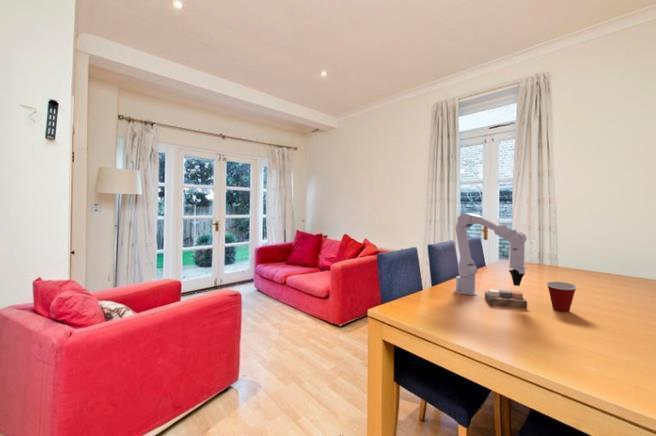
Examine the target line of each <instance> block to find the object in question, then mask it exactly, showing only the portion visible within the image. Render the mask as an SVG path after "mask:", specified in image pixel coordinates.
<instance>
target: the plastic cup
mask: <svg viewBox="0 0 656 436" xmlns="http://www.w3.org/2000/svg"><path fill="white" fill-rule="evenodd" d="M546 286H547V289H548V291H549V297H550V302H551V307H552V310H554V311H557V312H560V313H570V311H571V306H572V304H573V299H574V297H575V293H576V290H577V288H578V286H577V285H576V284H574V283H571V282H570V283H569V282H564V281H547V282H546Z"/></svg>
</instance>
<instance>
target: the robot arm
mask: <svg viewBox="0 0 656 436" xmlns="http://www.w3.org/2000/svg"><path fill="white" fill-rule="evenodd" d="M456 220H457V221H456V222H457V223H456V225H455V232H456V233H455V234H456V240H457V246H458V250H459V258H460V261H458V268H457V269H458V270H457V272H458V275H456V277H455V291H456V293H457V294H458V295H459V294H461V295H468V296H469V295H471V296H477V293H476V275H477V272H478V267H477V265H476V263H475V261H474V260H473V259H472V255H471V249H470V248H471V247H470V241H469V237H468V233H467V232H468V230H469V229H470V227H472V226H473V225H476V224H477V225H481V226H483V227H484V228H487V229H489V230H492V231H493V232H494V235H496V236H497V237H500V238H502V239H504V240H506V241H507V242H508V243H509V266H508V267H509V268H510V269H509V270H508V272H509V274H510V276H511V279H512V280H511V281H512V284H513V286H516V287H520V285H521V282H522V280H523V277H524V276H525V275H526V272H525V270H526V269H528V267H527V266H525V244H526V242H527V236H526V234H525V233H523V232H521V231H517V230H516V229H512V228H510V227H508V225H507V224H504V223H503V224H502V223H501V224H496V223H494V222H492V221H491V220H489V219H487V218H485V217H484V216H481V215H479V214H476V213H474V212H469V213H466V212H463V213H461V214H459V215H458V217H457V219H456Z"/></svg>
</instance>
